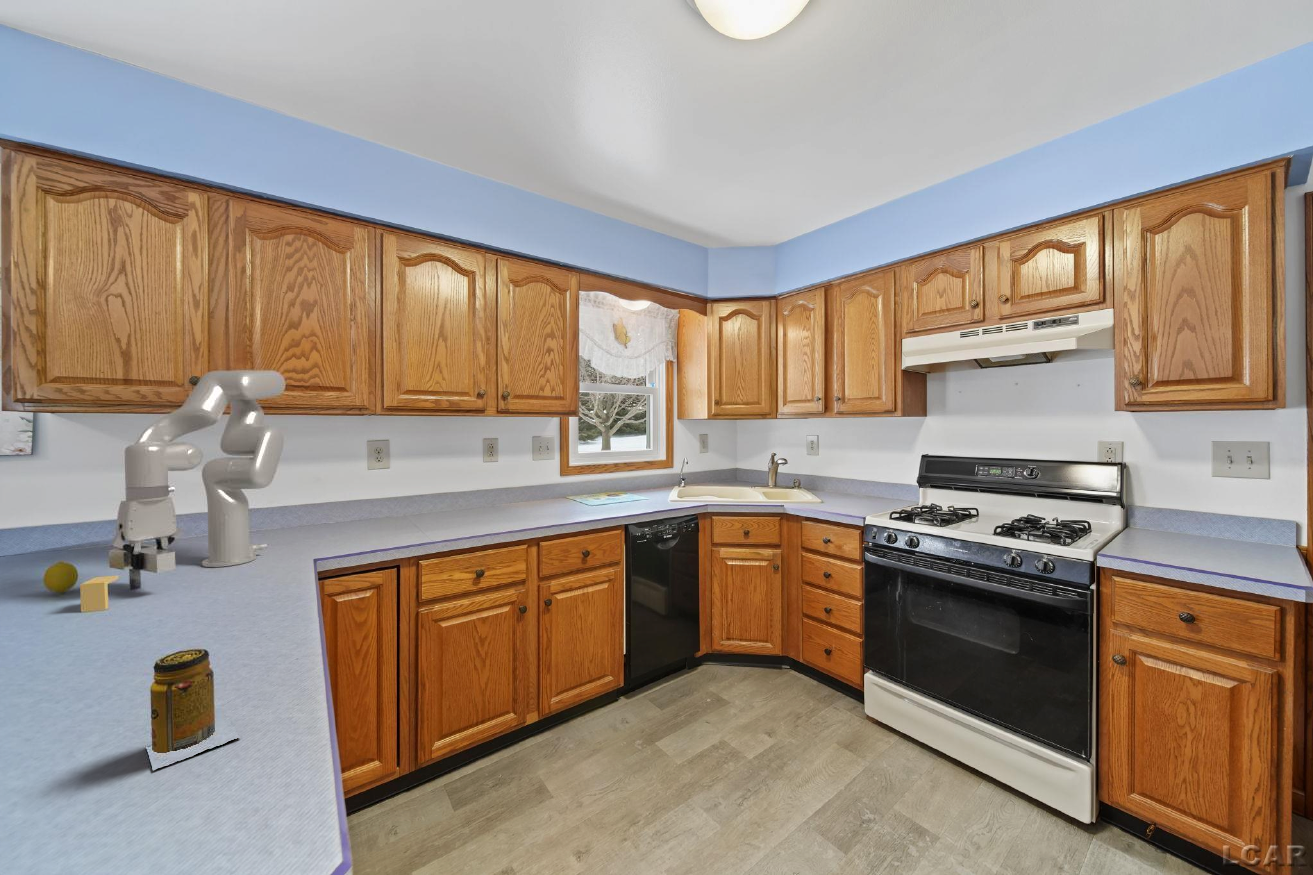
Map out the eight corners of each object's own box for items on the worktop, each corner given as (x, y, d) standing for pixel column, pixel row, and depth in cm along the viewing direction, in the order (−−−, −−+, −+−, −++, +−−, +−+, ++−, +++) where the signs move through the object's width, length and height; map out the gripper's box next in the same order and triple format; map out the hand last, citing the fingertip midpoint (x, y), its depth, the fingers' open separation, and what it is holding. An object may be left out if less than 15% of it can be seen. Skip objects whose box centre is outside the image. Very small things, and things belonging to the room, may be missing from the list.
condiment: (145, 748, 66) (142, 657, 66) (229, 719, 73) (227, 636, 72) (152, 773, 61) (149, 675, 61) (241, 740, 68) (239, 650, 68)
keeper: (96, 604, 119) (95, 577, 118) (119, 601, 120) (118, 575, 120) (81, 612, 113) (80, 584, 113) (105, 609, 115) (104, 582, 115)
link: (183, 567, 128) (182, 550, 128) (148, 574, 121) (148, 556, 121) (143, 560, 134) (143, 544, 134) (109, 567, 128) (109, 549, 128)
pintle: (138, 586, 132) (137, 565, 131) (142, 587, 131) (142, 566, 131) (128, 588, 130) (127, 567, 129) (132, 589, 129) (131, 568, 129)
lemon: (54, 598, 123) (53, 565, 123) (37, 596, 124) (36, 563, 124) (84, 590, 128) (83, 559, 128) (68, 589, 129) (67, 557, 129)
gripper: (179, 489, 136) (181, 557, 136) (93, 497, 121) (94, 574, 121) (196, 490, 133) (197, 560, 134) (109, 498, 118) (111, 577, 118)
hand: (148, 566), depth 127 cm, fingers closed on link, 3 cm apart
